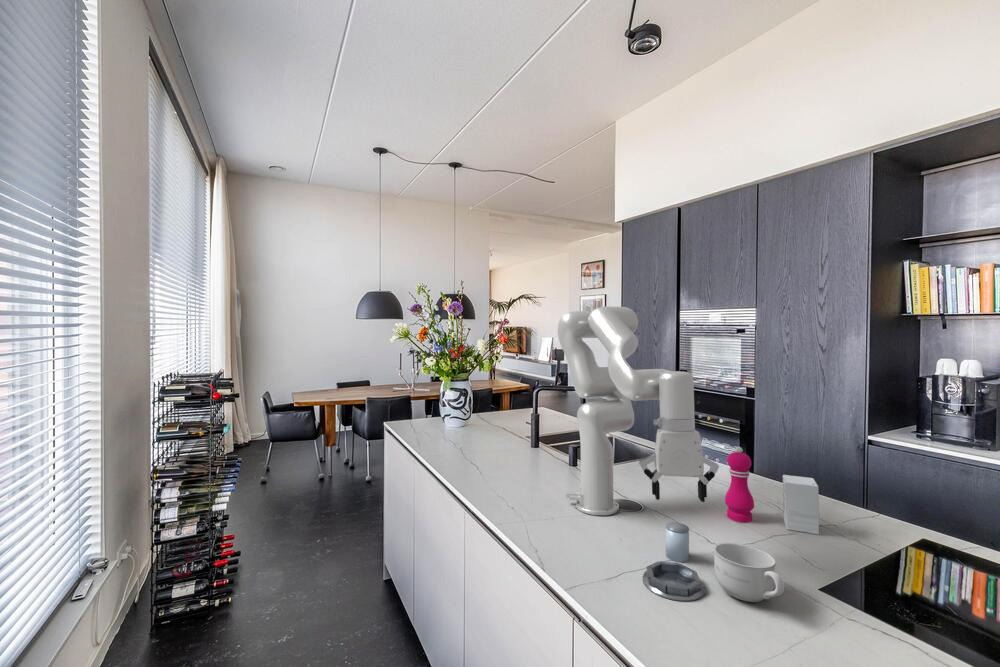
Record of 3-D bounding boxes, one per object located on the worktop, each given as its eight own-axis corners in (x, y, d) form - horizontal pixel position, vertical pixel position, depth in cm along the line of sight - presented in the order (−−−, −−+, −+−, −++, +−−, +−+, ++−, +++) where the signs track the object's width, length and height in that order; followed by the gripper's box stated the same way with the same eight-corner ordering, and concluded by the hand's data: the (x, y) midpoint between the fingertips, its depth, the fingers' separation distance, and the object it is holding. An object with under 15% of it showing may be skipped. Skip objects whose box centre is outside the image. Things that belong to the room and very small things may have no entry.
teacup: (703, 579, 93) (703, 541, 93) (752, 576, 94) (752, 539, 94) (745, 622, 79) (745, 578, 79) (802, 618, 80) (802, 574, 80)
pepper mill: (758, 524, 119) (757, 450, 119) (729, 522, 121) (729, 449, 121) (749, 513, 126) (748, 444, 126) (721, 512, 128) (721, 443, 128)
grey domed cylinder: (667, 561, 101) (667, 530, 101) (664, 550, 105) (664, 521, 105) (691, 563, 100) (691, 532, 100) (686, 552, 104) (686, 523, 104)
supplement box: (814, 524, 119) (814, 477, 119) (819, 535, 113) (819, 486, 113) (782, 519, 123) (782, 473, 123) (785, 529, 116) (784, 481, 116)
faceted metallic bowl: (646, 597, 87) (646, 587, 87) (639, 566, 98) (639, 557, 98) (711, 604, 84) (711, 594, 84) (697, 571, 96) (697, 562, 96)
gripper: (640, 427, 100) (641, 502, 100) (722, 428, 97) (724, 507, 96) (636, 421, 108) (638, 491, 107) (712, 422, 104) (715, 495, 104)
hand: (679, 499), depth 102 cm, fingers open, 9 cm apart
